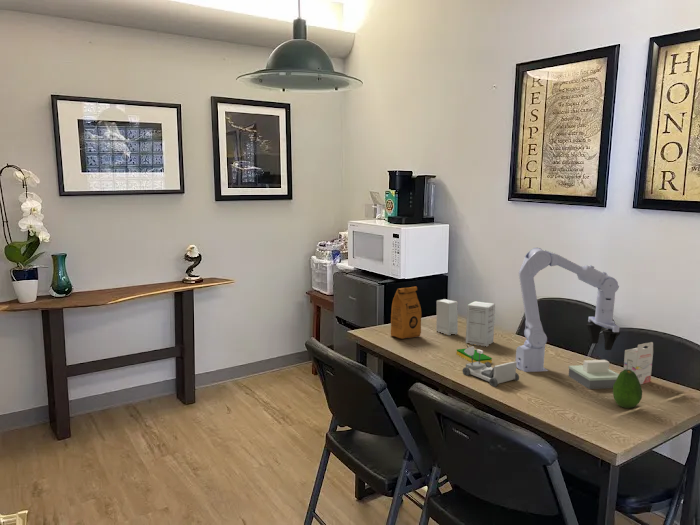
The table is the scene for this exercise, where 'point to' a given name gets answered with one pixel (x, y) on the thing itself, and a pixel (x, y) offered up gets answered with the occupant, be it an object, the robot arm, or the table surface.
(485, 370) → the toy car
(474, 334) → the supplement box
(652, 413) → the table surface
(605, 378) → the lid
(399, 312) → the coffee package
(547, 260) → the robot arm
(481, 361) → the dish sponge
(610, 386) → the storage box
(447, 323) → the skincare box
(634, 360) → the ink cartridge box
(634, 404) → the avocado
